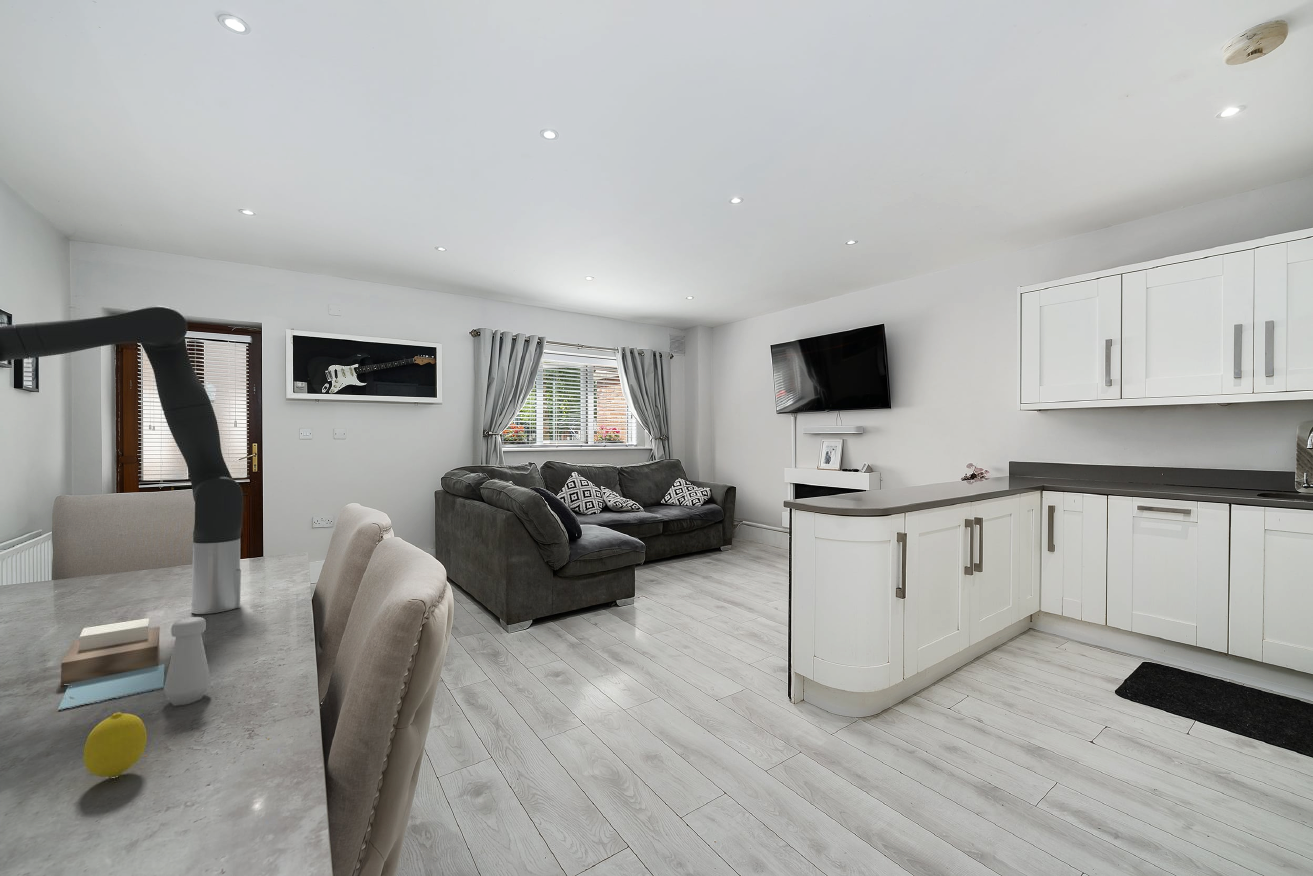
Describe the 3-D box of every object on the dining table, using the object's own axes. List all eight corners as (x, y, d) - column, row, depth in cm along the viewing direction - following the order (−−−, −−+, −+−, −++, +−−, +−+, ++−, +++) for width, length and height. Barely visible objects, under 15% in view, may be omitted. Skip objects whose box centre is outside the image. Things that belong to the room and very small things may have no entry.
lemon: (111, 765, 69) (113, 703, 69) (157, 763, 69) (159, 701, 69) (68, 793, 63) (69, 725, 63) (118, 791, 64) (120, 723, 64)
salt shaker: (219, 694, 88) (220, 616, 89) (178, 711, 83) (180, 627, 83) (195, 689, 90) (197, 612, 90) (154, 704, 85) (156, 622, 85)
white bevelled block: (149, 630, 107) (149, 618, 107) (147, 638, 102) (148, 625, 102) (83, 641, 101) (83, 628, 101) (79, 650, 96) (79, 636, 96)
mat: (164, 666, 99) (164, 664, 99) (163, 688, 91) (163, 686, 91) (69, 685, 91) (69, 683, 91) (57, 711, 83) (57, 709, 83)
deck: (159, 646, 109) (159, 626, 109) (157, 667, 99) (157, 645, 99) (72, 661, 101) (73, 640, 101) (60, 686, 91) (61, 663, 91)
